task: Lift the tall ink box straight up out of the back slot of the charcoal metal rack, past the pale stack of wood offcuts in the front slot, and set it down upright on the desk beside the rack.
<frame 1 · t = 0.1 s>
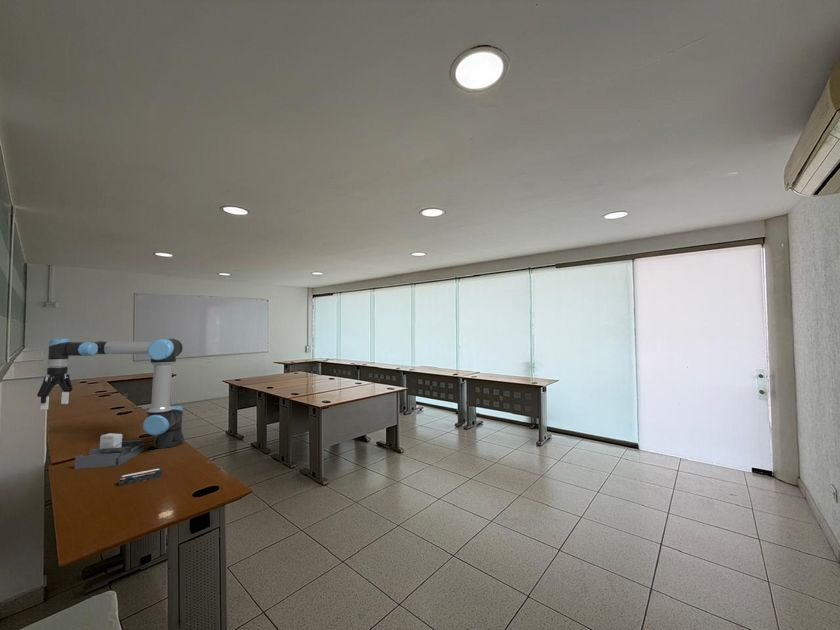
hand: (54, 406, 178), 28 cm above the table, fingers open, 13 cm apart
ink box: (109, 456, 182), resting in rack
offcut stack: (103, 463, 172), resting in rack
rack: (110, 459, 177), on the table
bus: (134, 482, 152), on the table
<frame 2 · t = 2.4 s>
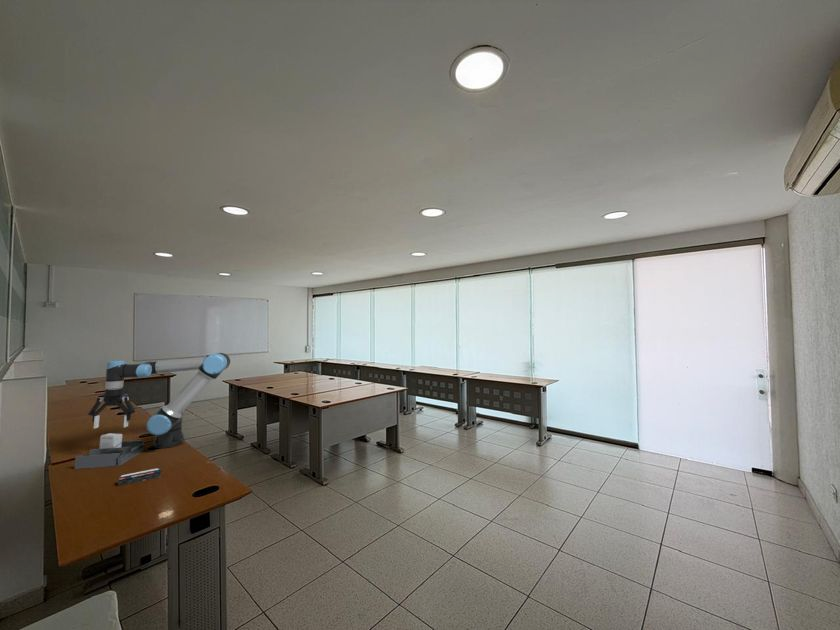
hand: (111, 427, 182), 16 cm above the table, fingers open, 13 cm apart
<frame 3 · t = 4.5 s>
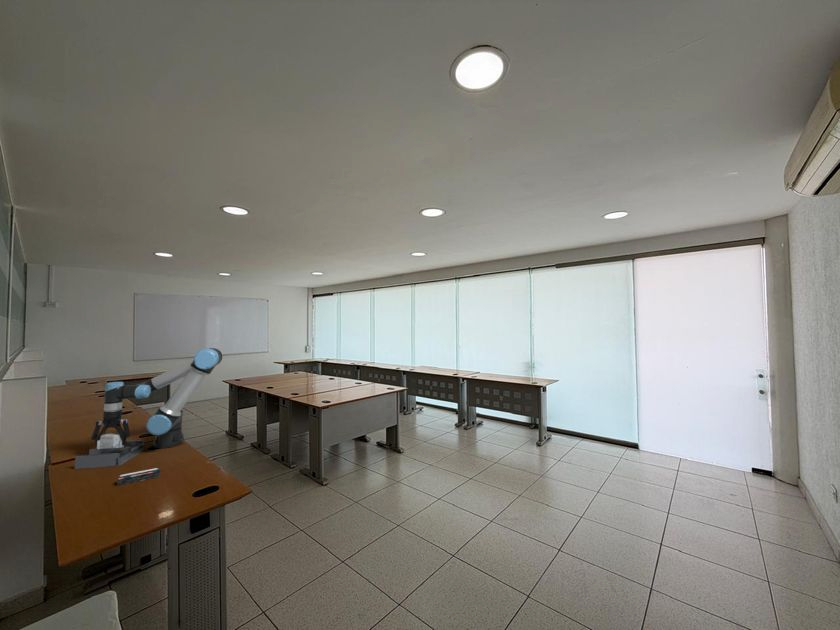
hand: (110, 451, 182), 3 cm above the table, fingers closed on ink box, 9 cm apart
ink box: (109, 456, 182), resting in rack, touching gripper
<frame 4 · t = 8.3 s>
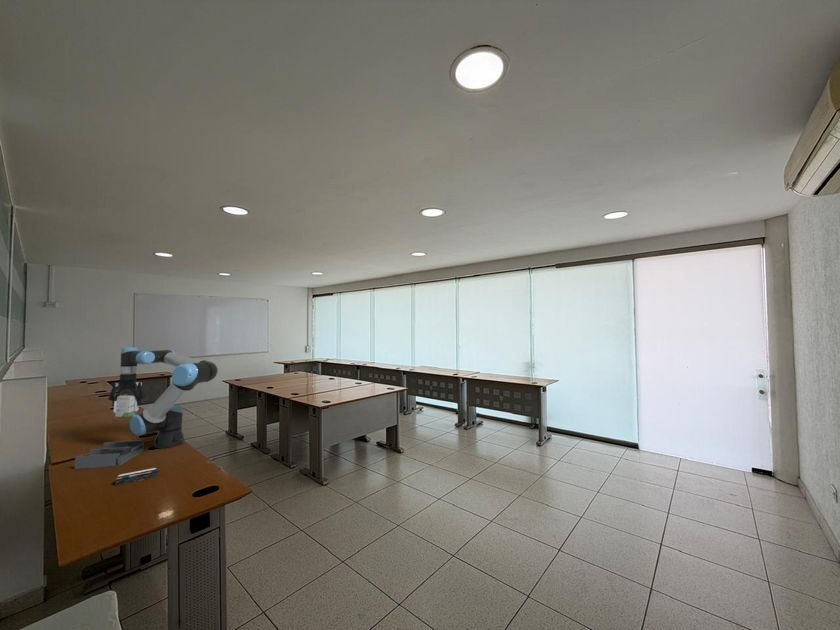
hand: (126, 411, 195), 21 cm above the table, fingers closed on ink box, 9 cm apart
ink box: (125, 416, 195), point 19 cm above the table, touching gripper
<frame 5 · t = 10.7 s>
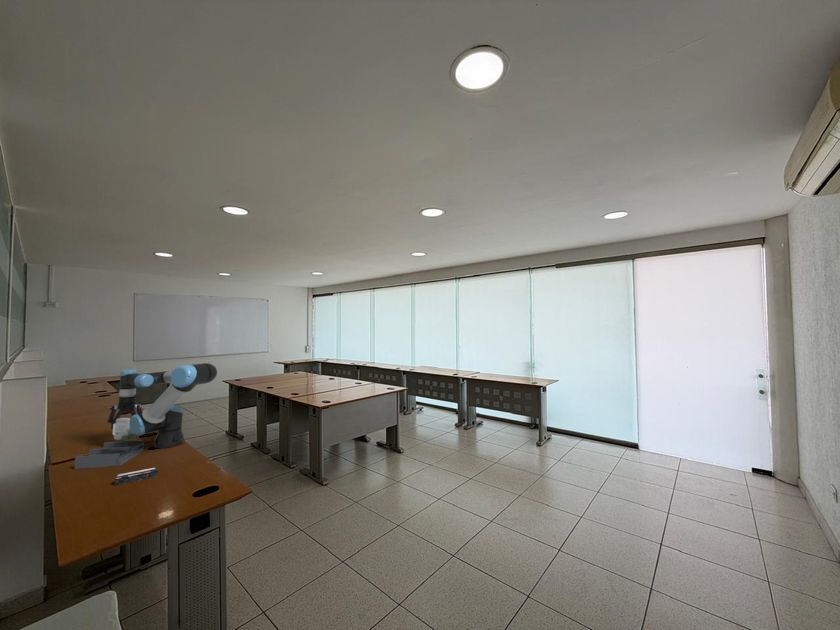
hand: (125, 434, 195), 8 cm above the table, fingers closed on ink box, 9 cm apart
ink box: (124, 438, 195), point 5 cm above the table, touching gripper
when the fingers open (5 cm above the table, at t = 12.5 s): ink box drops 2 cm, on the table.
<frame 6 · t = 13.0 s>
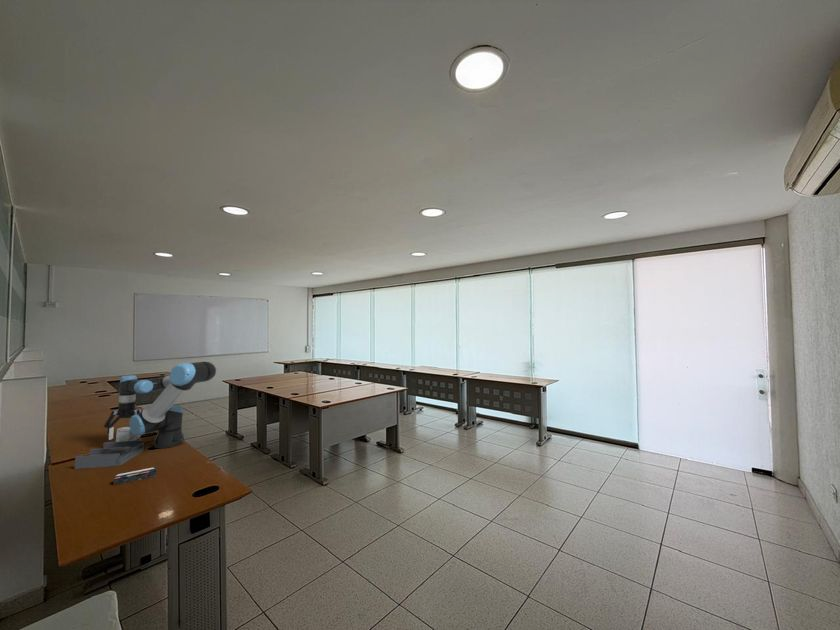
hand: (124, 438, 195), 6 cm above the table, fingers open, 13 cm apart
ink box: (125, 448, 194), on the table
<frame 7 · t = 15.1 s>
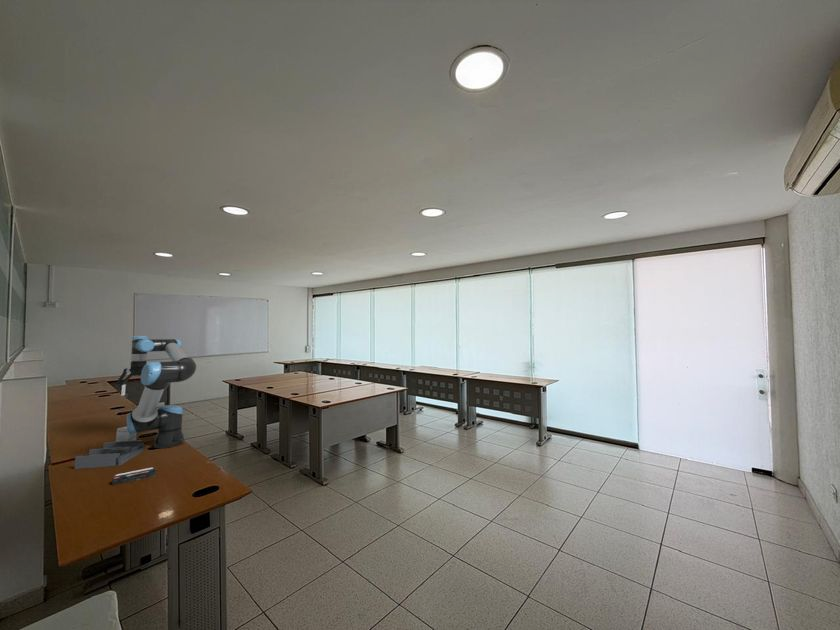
hand: (136, 395, 204), 29 cm above the table, fingers open, 13 cm apart
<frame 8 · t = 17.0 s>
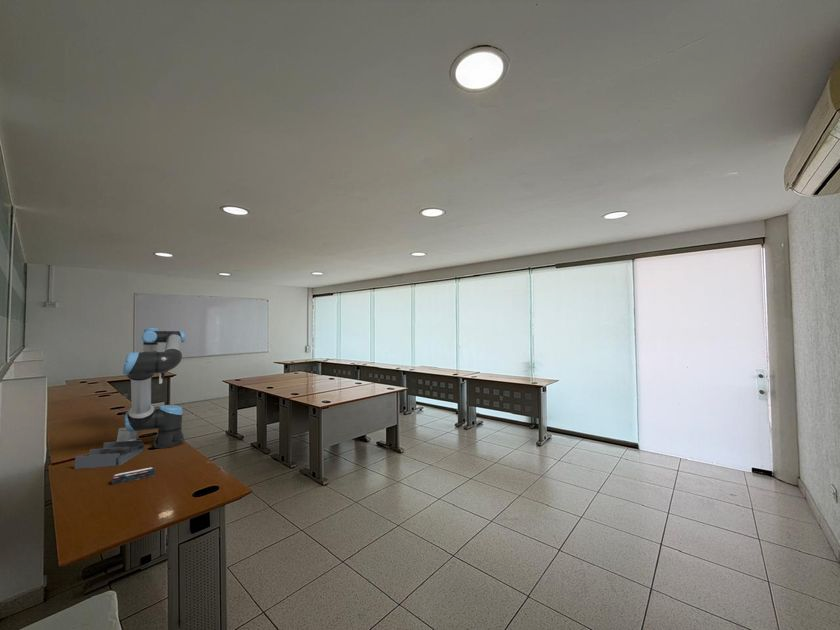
hand: (148, 383, 215), 35 cm above the table, fingers open, 13 cm apart
ink box: (125, 448, 194), on the table, touching arm
at the end: ink box inside the target area (1.3 cm from its centre), on the table; ink box tilted 7°; the gripper is holding nothing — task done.
